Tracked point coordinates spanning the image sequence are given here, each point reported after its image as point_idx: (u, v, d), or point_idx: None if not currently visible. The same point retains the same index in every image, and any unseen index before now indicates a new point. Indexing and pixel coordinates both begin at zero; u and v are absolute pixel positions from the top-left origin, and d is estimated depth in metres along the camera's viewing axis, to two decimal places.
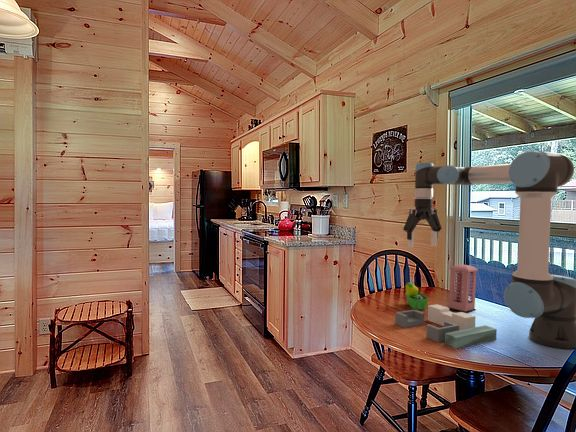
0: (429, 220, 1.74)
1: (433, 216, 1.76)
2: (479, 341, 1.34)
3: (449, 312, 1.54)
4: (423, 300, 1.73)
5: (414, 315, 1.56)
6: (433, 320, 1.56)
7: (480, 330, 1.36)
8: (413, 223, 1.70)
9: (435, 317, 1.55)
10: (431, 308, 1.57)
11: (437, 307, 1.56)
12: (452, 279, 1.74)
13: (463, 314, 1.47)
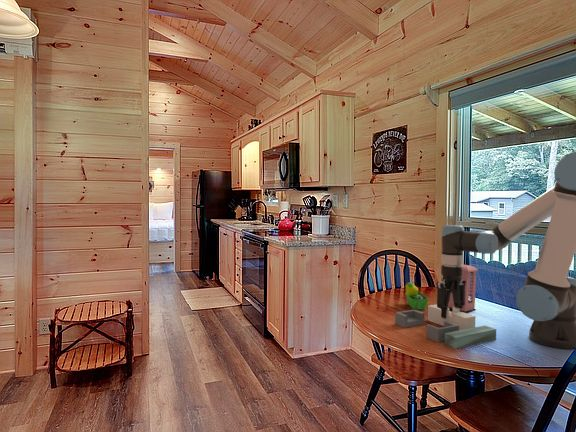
0: (455, 291, 1.52)
1: (460, 287, 1.54)
2: (479, 341, 1.34)
3: (449, 312, 1.54)
4: (423, 300, 1.73)
5: (414, 315, 1.56)
6: (433, 320, 1.56)
7: (479, 330, 1.36)
8: (445, 298, 1.50)
9: (435, 317, 1.55)
10: (431, 308, 1.57)
11: None
12: None
13: (463, 314, 1.47)
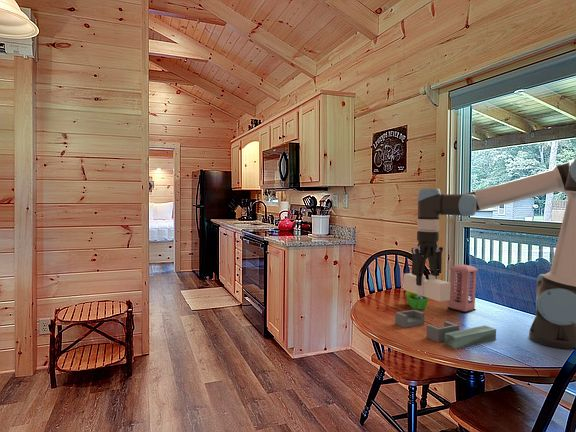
0: (431, 258, 1.45)
1: (436, 254, 1.47)
2: (479, 341, 1.34)
3: (425, 280, 1.47)
4: (423, 300, 1.73)
5: (414, 315, 1.56)
6: (408, 288, 1.50)
7: (479, 330, 1.36)
8: (420, 265, 1.43)
9: (411, 285, 1.49)
10: (407, 276, 1.51)
11: (413, 275, 1.50)
12: (452, 279, 1.74)
13: (438, 281, 1.41)
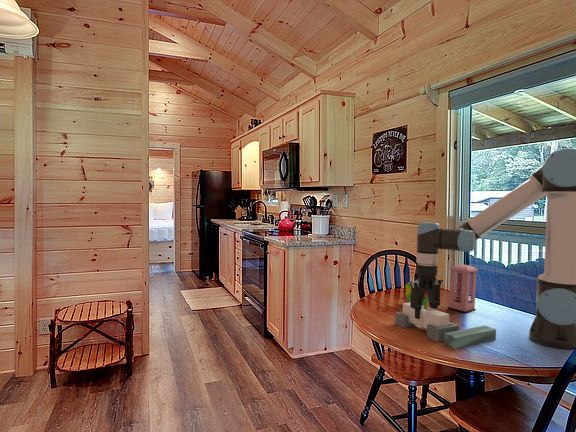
0: (430, 291, 1.46)
1: (435, 287, 1.48)
2: (479, 341, 1.34)
3: (423, 310, 1.48)
4: (423, 300, 1.73)
5: None
6: None
7: (479, 331, 1.36)
8: (419, 298, 1.44)
9: (410, 315, 1.50)
10: (405, 306, 1.52)
11: None
12: (452, 279, 1.74)
13: (436, 312, 1.42)
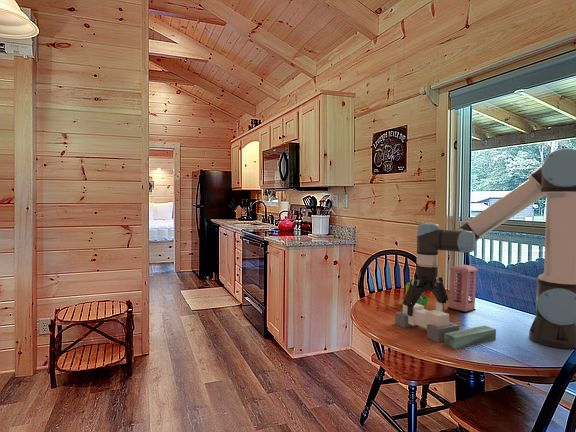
0: (433, 290, 1.47)
1: (438, 285, 1.48)
2: (479, 341, 1.34)
3: (423, 310, 1.48)
4: (423, 300, 1.73)
5: None
6: None
7: (479, 330, 1.36)
8: (415, 296, 1.43)
9: None
10: (405, 306, 1.52)
11: None
12: (452, 279, 1.74)
13: (436, 312, 1.42)
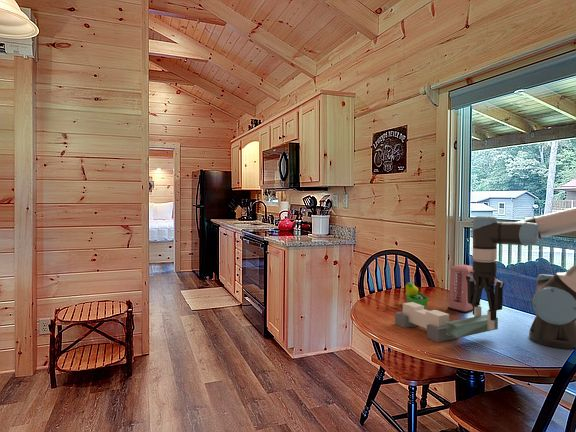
0: None
1: None
2: (480, 330, 1.33)
3: (423, 310, 1.48)
4: (423, 300, 1.73)
5: None
6: None
7: (481, 319, 1.35)
8: None
9: (410, 315, 1.50)
10: (405, 306, 1.52)
11: (411, 305, 1.51)
12: (452, 279, 1.74)
13: (436, 312, 1.42)
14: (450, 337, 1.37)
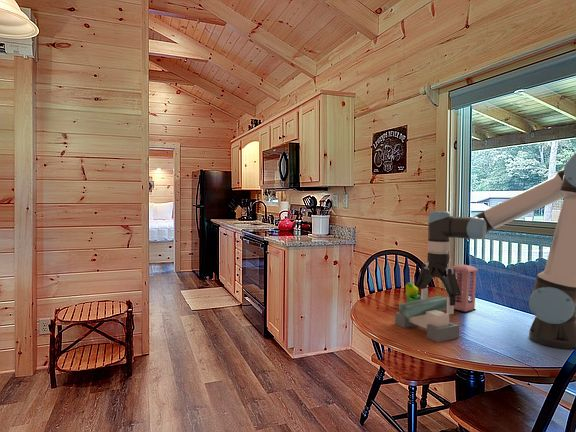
0: None
1: None
2: (431, 310, 1.44)
3: None
4: None
5: None
6: None
7: (432, 300, 1.46)
8: None
9: None
10: None
11: None
12: None
13: (436, 312, 1.42)
14: (450, 337, 1.37)
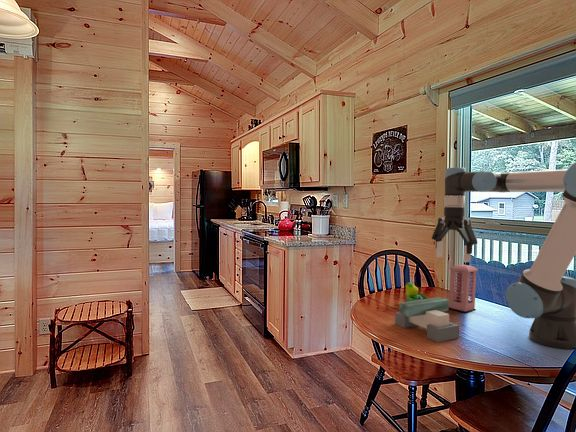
0: None
1: None
2: (431, 310, 1.45)
3: None
4: None
5: None
6: None
7: (433, 301, 1.46)
8: None
9: None
10: None
11: None
12: (452, 279, 1.74)
13: (436, 312, 1.42)
14: (450, 337, 1.37)
